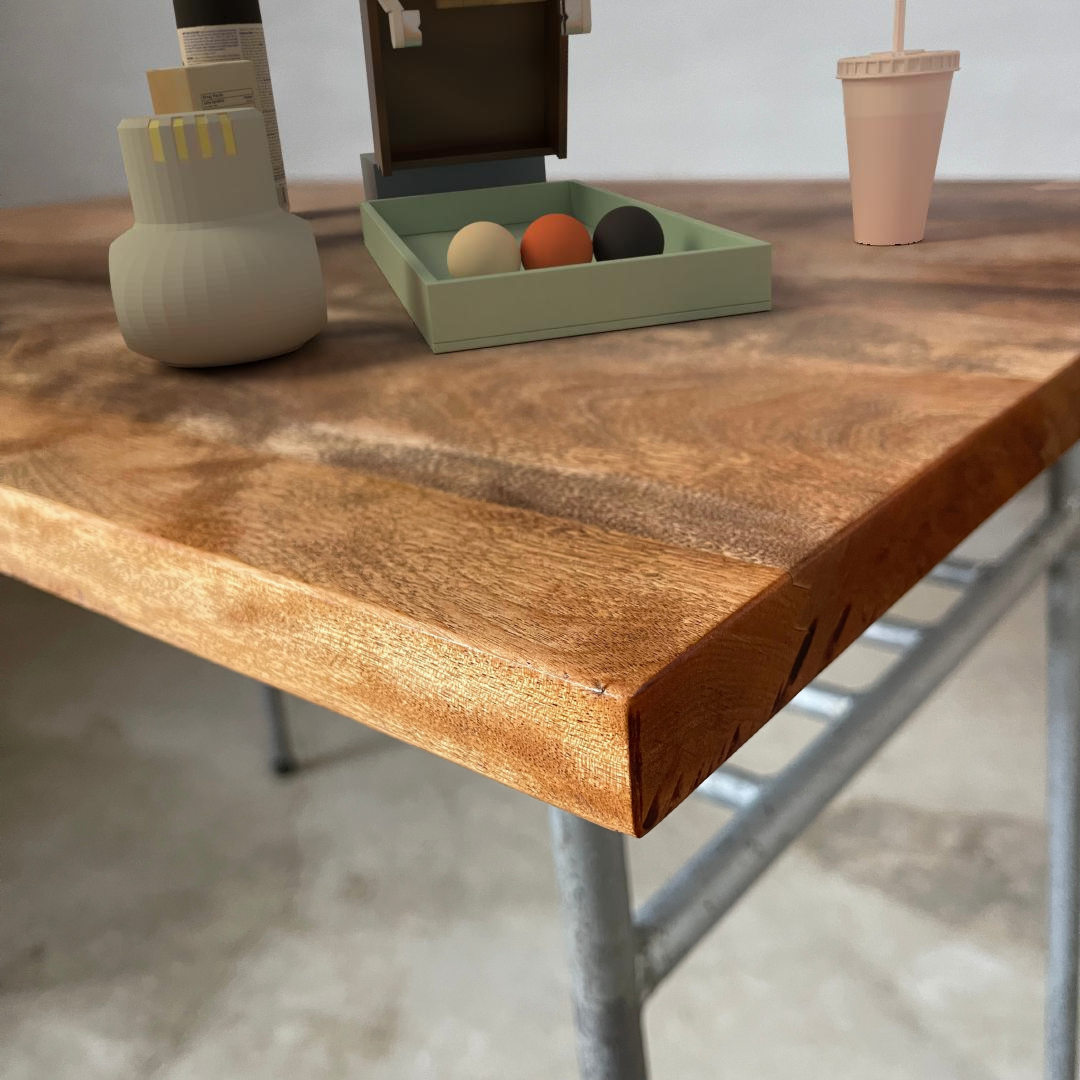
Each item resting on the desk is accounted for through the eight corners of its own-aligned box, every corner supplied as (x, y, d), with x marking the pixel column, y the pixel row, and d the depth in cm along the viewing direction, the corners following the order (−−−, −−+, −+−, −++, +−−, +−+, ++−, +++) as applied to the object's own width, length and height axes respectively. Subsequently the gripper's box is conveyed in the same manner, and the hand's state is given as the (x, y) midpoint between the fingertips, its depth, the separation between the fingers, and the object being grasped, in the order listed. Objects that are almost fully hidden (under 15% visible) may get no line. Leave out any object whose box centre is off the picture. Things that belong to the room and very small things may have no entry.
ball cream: (431, 289, 55) (436, 214, 54) (493, 288, 57) (500, 216, 56) (467, 305, 53) (474, 228, 51) (530, 304, 55) (539, 229, 53)
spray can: (270, 212, 99) (228, -41, 91) (307, 216, 94) (266, -51, 86) (199, 223, 95) (149, -40, 87) (233, 228, 90) (184, -50, 82)
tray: (364, 245, 77) (358, 201, 75) (577, 221, 79) (575, 179, 78) (433, 353, 47) (425, 284, 46) (771, 310, 50) (772, 243, 48)
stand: (368, 219, 89) (359, 153, 87) (516, 203, 91) (511, 139, 89) (382, 237, 79) (373, 164, 77) (549, 219, 81) (544, 147, 79)
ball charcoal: (588, 292, 56) (571, 222, 55) (623, 267, 59) (608, 199, 57) (649, 289, 54) (633, 216, 52) (683, 263, 56) (669, 192, 55)
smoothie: (945, 228, 65) (964, -40, 60) (951, 247, 60) (972, -46, 54) (832, 232, 67) (840, -28, 61) (828, 251, 62) (836, -33, 56)
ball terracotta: (514, 248, 53) (507, 288, 56) (586, 273, 53) (574, 312, 56) (537, 188, 54) (529, 231, 57) (608, 213, 54) (595, 254, 57)
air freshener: (339, 368, 46) (300, 107, 42) (129, 397, 44) (67, 128, 40) (317, 317, 55) (284, 102, 51) (145, 339, 54) (97, 118, 50)
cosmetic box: (244, 239, 84) (213, 62, 79) (287, 240, 81) (257, 58, 77) (178, 255, 79) (141, 67, 74) (222, 256, 77) (187, 63, 72)
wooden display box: (352, -67, 66) (378, -16, 58) (551, -79, 68) (604, -32, 60) (375, 160, 75) (400, 232, 67) (550, 143, 77) (596, 211, 69)
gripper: (646, -251, 61) (654, 29, 66) (263, -240, 57) (305, 55, 62) (686, -284, 55) (691, 25, 60) (264, -274, 51) (310, 54, 57)
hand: (492, 41), depth 61 cm, fingers open, 8 cm apart
